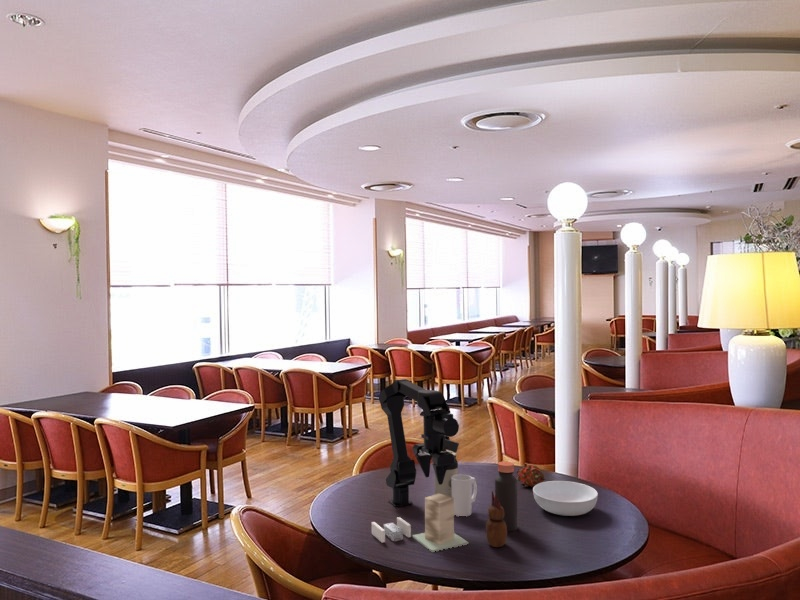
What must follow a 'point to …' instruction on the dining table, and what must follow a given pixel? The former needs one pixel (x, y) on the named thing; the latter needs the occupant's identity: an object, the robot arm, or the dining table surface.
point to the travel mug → (447, 478)
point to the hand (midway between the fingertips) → (433, 480)
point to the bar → (393, 532)
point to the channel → (380, 532)
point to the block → (439, 518)
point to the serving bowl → (565, 497)
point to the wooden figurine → (496, 524)
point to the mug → (463, 494)
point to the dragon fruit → (530, 475)
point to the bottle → (507, 493)
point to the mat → (436, 547)
